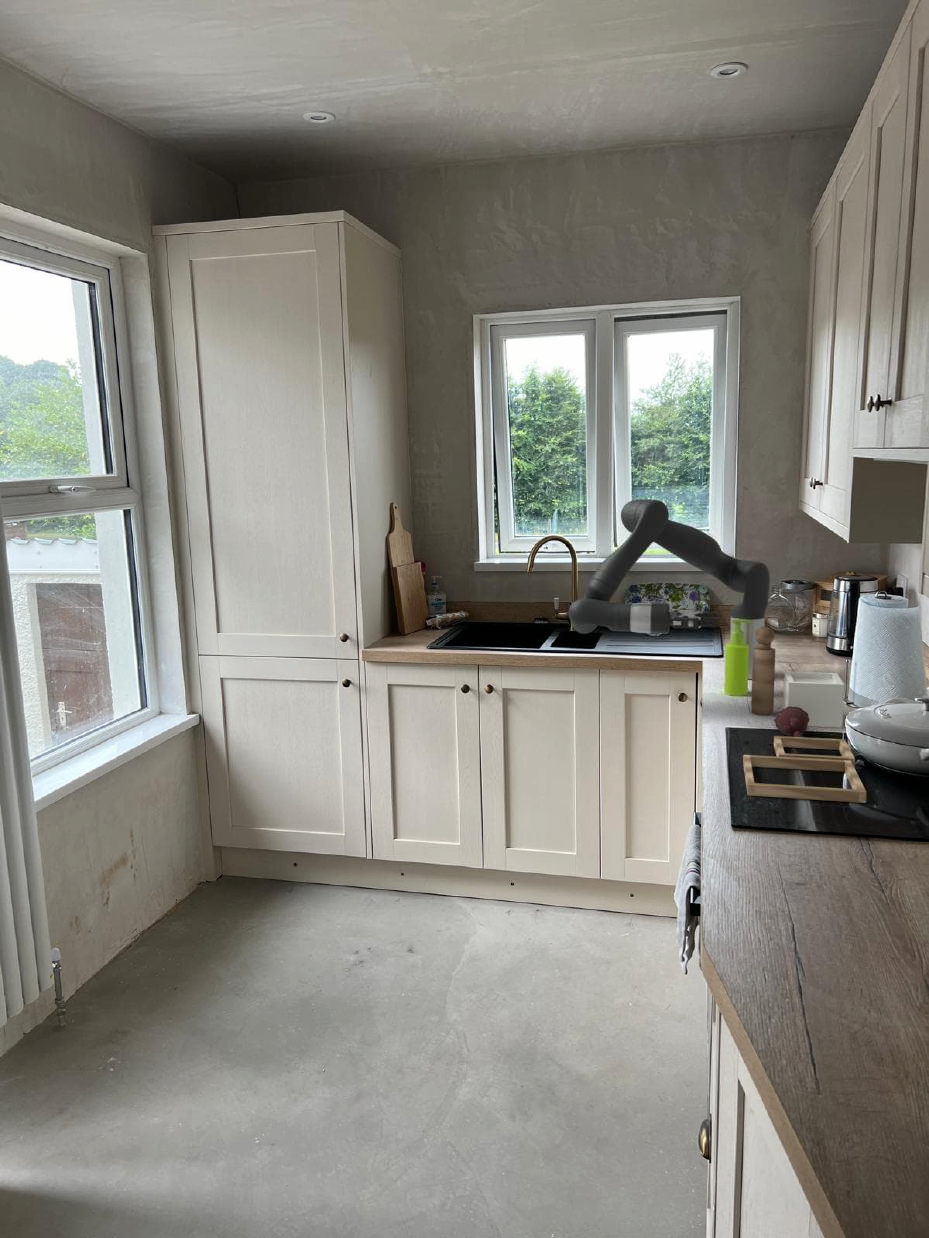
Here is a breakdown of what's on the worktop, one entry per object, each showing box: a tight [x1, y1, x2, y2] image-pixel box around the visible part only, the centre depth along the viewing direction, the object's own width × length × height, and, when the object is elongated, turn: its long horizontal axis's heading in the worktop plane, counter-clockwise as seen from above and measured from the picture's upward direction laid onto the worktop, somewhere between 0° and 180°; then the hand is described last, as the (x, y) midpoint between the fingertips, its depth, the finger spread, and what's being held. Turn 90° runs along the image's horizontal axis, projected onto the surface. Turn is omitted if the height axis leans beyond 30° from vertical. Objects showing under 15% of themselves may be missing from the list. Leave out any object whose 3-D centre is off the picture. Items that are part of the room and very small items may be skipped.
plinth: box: [782, 670, 845, 729], centre depth 217 cm, size 12×12×10 cm
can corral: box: [773, 735, 856, 768], centre depth 191 cm, size 13×14×2 cm
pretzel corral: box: [742, 754, 867, 804], centre depth 175 cm, size 18×20×2 cm
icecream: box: [773, 706, 809, 737], centre depth 205 cm, size 7×8×15 cm
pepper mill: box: [750, 626, 776, 717], centre depth 222 cm, size 5×5×22 cm
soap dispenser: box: [723, 619, 754, 697], centre depth 242 cm, size 6×7×20 cm
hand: (717, 619), depth 223 cm, fingers open, 8 cm apart
